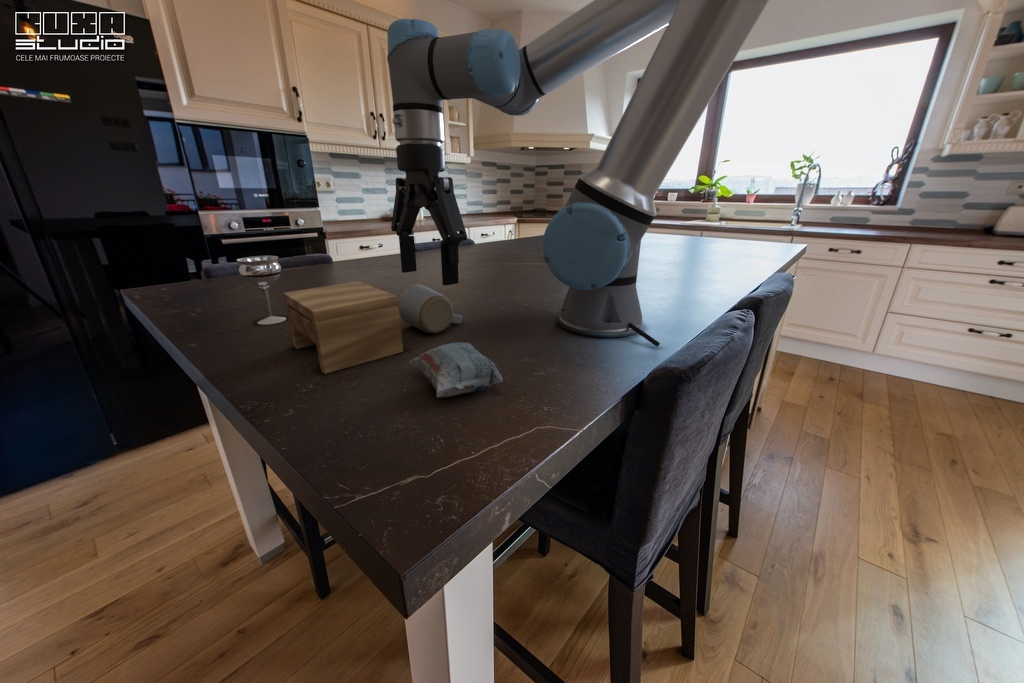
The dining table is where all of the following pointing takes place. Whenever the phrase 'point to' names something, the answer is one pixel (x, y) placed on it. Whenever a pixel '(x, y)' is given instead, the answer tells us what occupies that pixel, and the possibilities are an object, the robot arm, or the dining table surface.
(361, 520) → the dining table surface
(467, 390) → the packaged food
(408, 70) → the robot arm
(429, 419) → the dining table surface
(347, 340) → the oak stool
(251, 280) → the wineglass
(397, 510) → the dining table surface
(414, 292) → the ceramic mug
